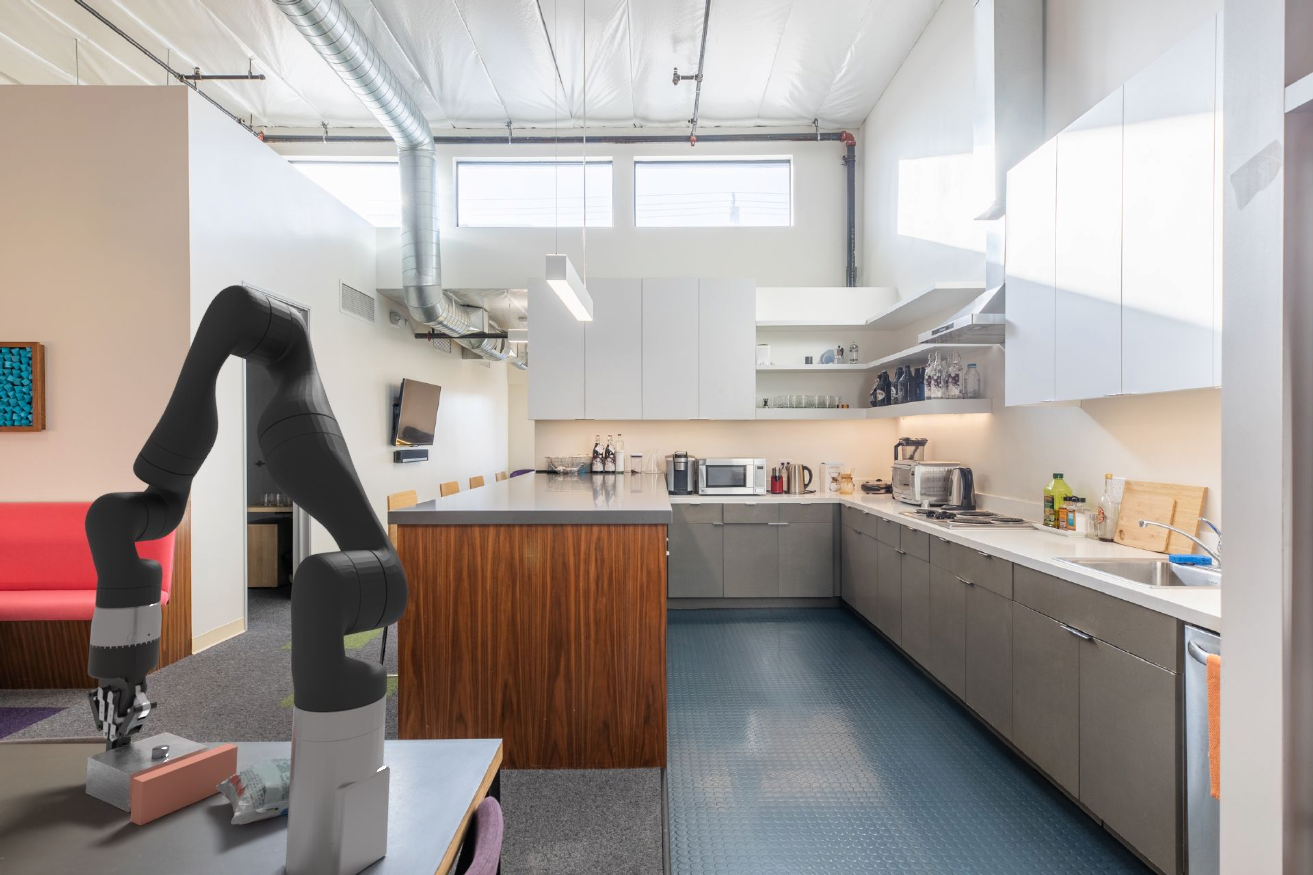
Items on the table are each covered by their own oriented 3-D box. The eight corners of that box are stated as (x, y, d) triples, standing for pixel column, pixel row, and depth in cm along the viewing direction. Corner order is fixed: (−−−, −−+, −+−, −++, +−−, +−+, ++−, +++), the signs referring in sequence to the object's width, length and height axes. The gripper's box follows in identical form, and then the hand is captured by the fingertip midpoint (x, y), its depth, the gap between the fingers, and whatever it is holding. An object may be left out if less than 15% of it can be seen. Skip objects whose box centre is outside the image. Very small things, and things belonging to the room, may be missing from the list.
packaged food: (229, 843, 72) (233, 798, 72) (214, 801, 81) (217, 761, 81) (314, 818, 78) (317, 776, 78) (291, 781, 87) (294, 744, 87)
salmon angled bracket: (235, 784, 85) (237, 746, 85) (139, 825, 75) (142, 781, 75) (181, 764, 90) (183, 728, 90) (85, 800, 80) (87, 759, 81)
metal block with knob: (206, 780, 86) (208, 738, 86) (128, 812, 78) (130, 766, 78) (164, 764, 90) (166, 724, 90) (85, 792, 82) (88, 749, 82)
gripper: (184, 637, 89) (175, 764, 88) (131, 624, 94) (122, 744, 93) (120, 650, 82) (109, 788, 81) (67, 635, 88) (57, 764, 87)
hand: (116, 764), depth 87 cm, fingers closed
